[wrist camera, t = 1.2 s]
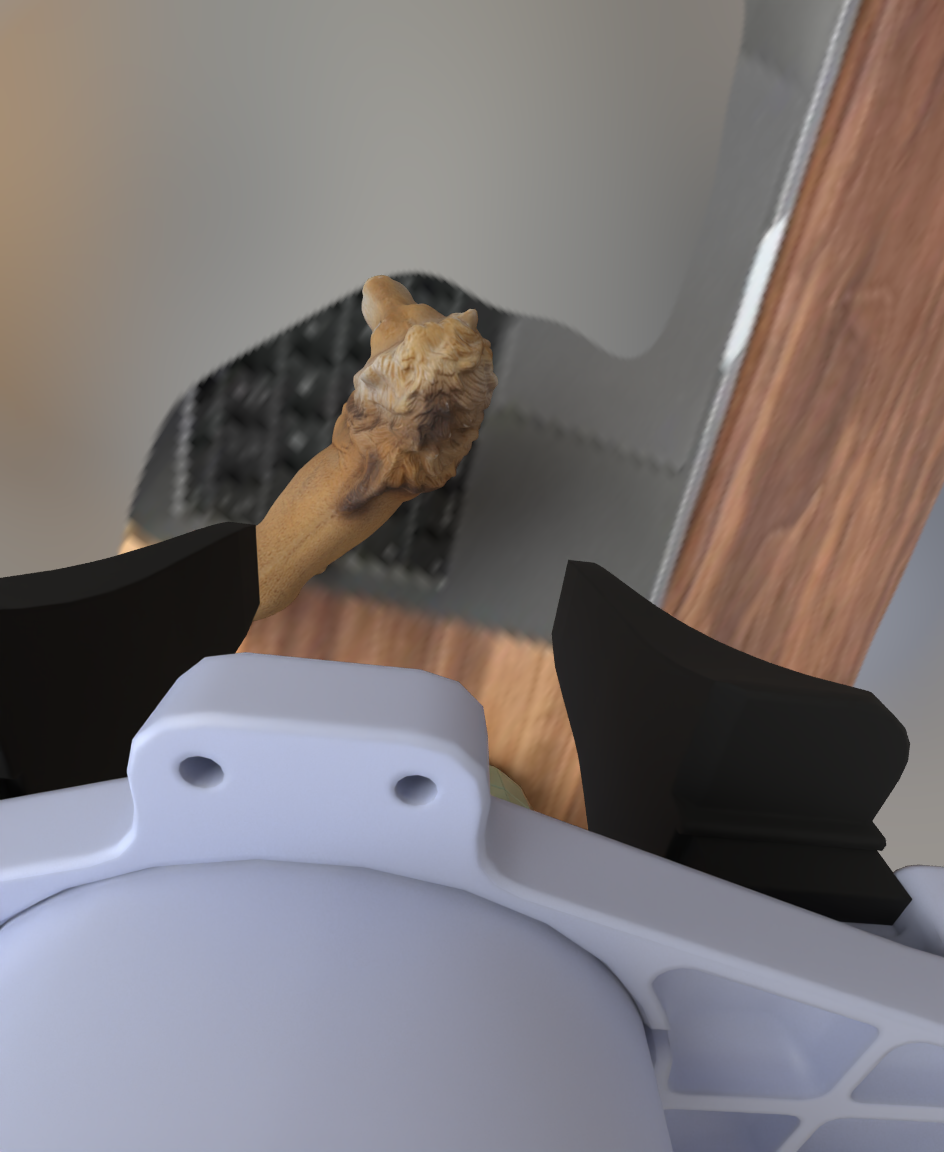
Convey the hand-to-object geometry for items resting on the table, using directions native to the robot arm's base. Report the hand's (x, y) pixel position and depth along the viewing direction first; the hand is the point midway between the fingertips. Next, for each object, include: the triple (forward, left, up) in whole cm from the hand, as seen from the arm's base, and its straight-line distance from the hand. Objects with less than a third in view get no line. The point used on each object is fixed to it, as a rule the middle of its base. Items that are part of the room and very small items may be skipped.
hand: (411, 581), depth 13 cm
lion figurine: (-2, +2, -11) cm, 12 cm away
